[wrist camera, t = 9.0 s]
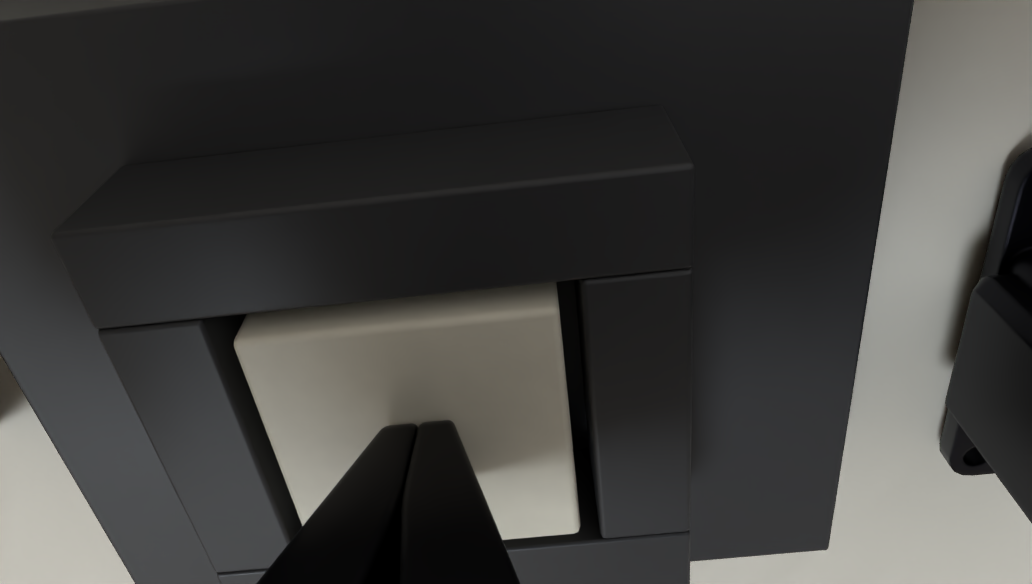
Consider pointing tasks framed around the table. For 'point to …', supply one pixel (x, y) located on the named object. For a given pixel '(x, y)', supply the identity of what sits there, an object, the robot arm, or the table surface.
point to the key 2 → (423, 393)
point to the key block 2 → (450, 245)
